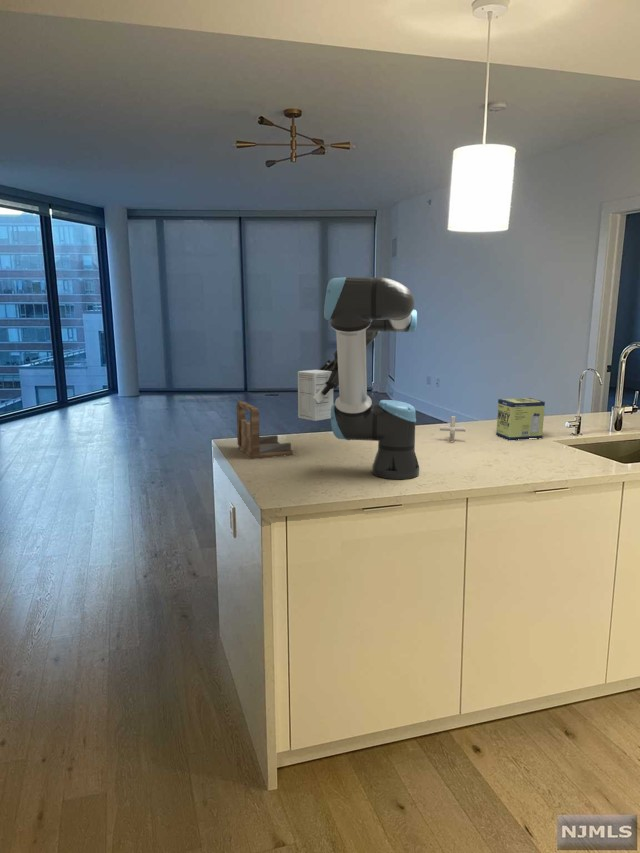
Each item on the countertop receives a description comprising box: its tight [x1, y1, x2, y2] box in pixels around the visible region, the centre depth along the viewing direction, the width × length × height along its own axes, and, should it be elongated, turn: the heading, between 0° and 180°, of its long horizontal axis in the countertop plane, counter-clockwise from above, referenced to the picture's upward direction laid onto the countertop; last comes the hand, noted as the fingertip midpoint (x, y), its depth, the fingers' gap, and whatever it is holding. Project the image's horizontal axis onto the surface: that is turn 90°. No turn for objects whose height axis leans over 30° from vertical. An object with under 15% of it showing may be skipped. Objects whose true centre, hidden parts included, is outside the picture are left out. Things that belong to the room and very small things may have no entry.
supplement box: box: [297, 369, 334, 422], centre depth 213 cm, size 10×9×17 cm
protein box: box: [495, 397, 546, 441], centre depth 246 cm, size 10×16×16 cm
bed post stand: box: [236, 400, 294, 460], centre depth 220 cm, size 18×15×18 cm
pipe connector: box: [439, 416, 467, 442], centre depth 239 cm, size 10×10×10 cm
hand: (308, 398), depth 212 cm, fingers closed on supplement box, 11 cm apart
